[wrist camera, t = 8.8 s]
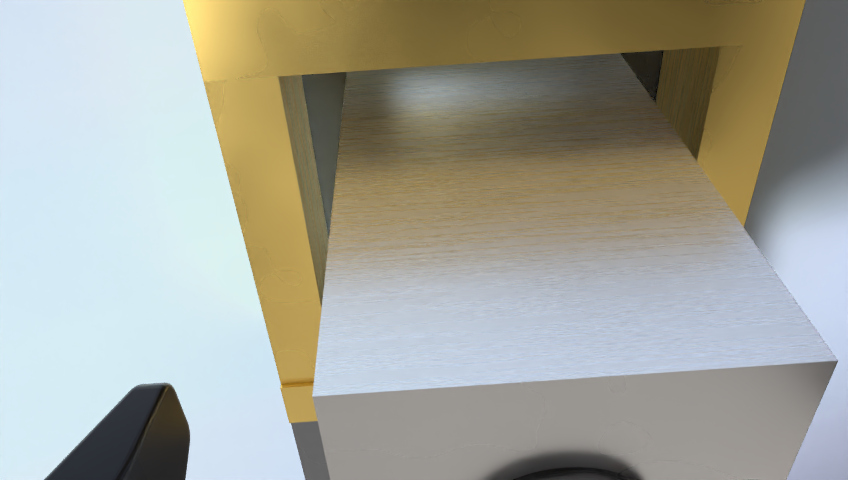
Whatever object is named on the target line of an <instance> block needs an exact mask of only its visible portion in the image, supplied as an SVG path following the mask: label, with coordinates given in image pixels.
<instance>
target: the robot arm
mask: <svg viewBox="0 0 848 480" xmlns="http://www.w3.org/2000/svg"><path fill="white" fill-rule="evenodd" d="M189 446H190V430H189V425H188V422H187V420H186V417H185V414H184V412H183V409H182V407H181V404H180V402H179V399H178V397H177V394H176V392H175V390H174V388H173V386H172V385H170V384H169V383H154V384H141V385H138V386H136V387H134V388H133V389H132V390H130V391H129V392H128V393H127V395H126V396H125V397H124V398H123V399H122V400H121V401H120V402H119V403H118V404H117V405H116V406H115V407H114V408H113V409H112V410H111V411H110V412H109V413H108V414H107V415H106V416H105V417H104V418H103V419H102V420H101V421H100V422H99V423H98V425H97V426H96V427H95V428H94V429H93V430H92V431H91V432H90V433H89V434H88V435H87V436H86V437H85V438H84V439H83V440H82V441H81V442H80V443H79V444H78V445H77V446H76V447H75V448H74V449H73V450H72V451H71V452H70V454H69V455H68V456H67V457H66V458H65V459H64V460H63V461H62V462H61V463H60V464H59V465H58V466H57V467H56V468H55V469H54V470H53V471H52V472H51V473H50V474H49V475H48V476H47V477H46V478H45V479H44V480H185V478H186V470H187V462H188V454H189Z"/></svg>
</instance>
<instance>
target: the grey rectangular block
mask: <svg viewBox="0 0 848 480" xmlns="http://www.w3.org/2000/svg"><path fill="white" fill-rule="evenodd" d="M837 362H838V360H837V358H836V357H835V355H834V354H833V353H832V351H831V350H830V348H829V347H828V345H827V344H826V343H825V341H824V340H823V338H822V337H821V336H820V334H819V333H818V331H817V330H816V329H815V327H814V326H813V324H812V323H811V322H810V320H809V319H808V317H807V316H806V315H805V313H804V312H803V310H802V309H801V307H800V306H799V305H798V303H797V302H796V300H795V299H794V298H793V296H792V295H791V293H790V292H789V291H788V289H787V288H786V286H785V285H784V284H783V282H782V281H781V279H780V278H779V277H778V275H777V274H776V272H775V271H774V269H773V268H772V267H771V265H770V264H769V262H768V261H767V260H766V258H765V257H764V255H763V254H762V253H761V251H760V250H759V248H758V247H757V246H756V244H755V243H754V241H753V240H752V238H751V237H750V236H749V234H748V233H747V231H746V230H745V229H744V227H743V226H742V224H741V223H740V222H739V220H738V219H737V217H736V216H735V215H734V213H733V212H732V210H731V209H730V208H729V206H728V205H727V203H726V202H725V200H724V199H723V198H722V196H721V195H720V193H719V192H718V191H717V189H716V188H715V186H714V185H713V184H712V182H711V181H710V179H709V178H708V177H707V175H706V174H705V172H704V171H703V170H702V168H701V167H700V165H699V164H698V162H697V161H696V160H695V158H694V157H693V155H692V154H691V153H690V151H689V150H688V148H687V147H686V146H685V144H684V143H683V141H682V140H681V139H680V137H679V136H678V134H677V133H676V131H675V130H674V129H673V127H672V126H671V124H670V123H669V122H668V120H667V119H666V117H665V116H664V115H663V113H662V112H661V110H660V109H659V108H658V106H657V105H656V103H655V102H654V101H653V99H652V98H651V96H650V95H649V93H648V92H647V91H646V89H645V88H644V86H643V85H642V84H641V82H640V81H639V79H638V78H637V77H636V75H635V74H634V72H633V71H632V70H631V68H630V67H629V65H628V64H627V63H626V61H625V60H624V58H623V57H622V55H621V54H620V53H615V54H600V55H586V56H571V57H557V58H542V59H527V60H513V61H498V62H483V63H469V64H454V65H439V66H425V67H410V68H395V69H381V70H366V71H351V72H346V82H345V91H344V101H343V110H342V120H341V129H340V139H339V148H338V158H337V167H336V177H335V186H334V196H333V205H332V215H331V224H330V234H329V243H328V253H327V262H326V272H325V281H324V291H323V300H322V310H321V319H320V329H319V338H318V348H317V357H316V367H315V376H314V386H313V395H312V397H313V402H314V407H315V411H316V416H317V420H318V425H319V430H320V434H321V439H322V444H323V448H324V453H325V458H326V462H327V467H328V471H329V476H330V480H786V479H787V476H788V474H789V472H790V470H791V467H792V465H793V463H794V460H795V458H796V456H797V454H798V451H799V449H800V447H801V444H802V442H803V440H804V438H805V435H806V433H807V431H808V428H809V426H810V424H811V422H812V419H813V417H814V415H815V412H816V410H817V408H818V406H819V403H820V401H821V399H822V396H823V394H824V392H825V390H826V387H827V385H828V383H829V380H830V378H831V376H832V374H833V371H834V369H835V367H836V364H837Z"/></svg>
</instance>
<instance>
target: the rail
mask: <svg viewBox="0 0 848 480" xmlns="http://www.w3.org/2000/svg"><path fill="white" fill-rule="evenodd" d="M805 1H806V0H183V3H184V7H185V11H186V15H187V18H188V22H189V26H190V30H191V34H192V38H193V42H194V46H195V50H196V54H197V57H198V61H199V65H200V69H201V73H202V77H203V81H204V85H205V89H206V93H207V97H208V100H209V104H210V108H211V112H212V116H213V120H214V124H215V128H216V132H217V136H218V140H219V143H220V147H221V151H222V155H223V159H224V163H225V167H226V171H227V175H228V179H229V182H230V186H231V190H232V194H233V198H234V202H235V206H236V210H237V214H238V218H239V222H240V225H241V229H242V233H243V237H244V241H245V245H246V249H247V253H248V257H249V261H250V265H251V268H252V272H253V276H254V280H255V284H256V288H257V292H258V296H259V300H260V304H261V308H262V311H263V315H264V319H265V323H266V327H267V331H268V335H269V339H270V343H271V347H272V350H273V354H274V358H275V362H276V366H277V370H278V374H279V378H280V382H281V392H282V396H283V400H284V404H285V408H286V412H287V415H288V419H289V423H291V425H292V429H293V433H294V436H295V440H296V444H297V448H298V452H299V456H300V460H301V464H302V468H303V472H304V475H305V479H306V480H330V476H329V471H328V467H327V462H326V458H325V453H324V448H323V444H322V439H321V434H320V430H319V425H318V420H317V416H316V411H315V407H314V402H313V397H312V395H313V386H314V376H315V367H316V357H317V348H318V338H319V329H320V319H321V310H322V300H323V291H324V281H325V272H326V262H327V253H328V243H329V238H328V232H327V226H326V220H325V214H324V208H323V202H322V196H321V190H320V184H319V178H318V172H317V166H316V160H315V154H314V148H313V142H312V136H311V130H310V124H309V117H308V111H307V105H306V99H305V93H304V87H303V81H302V75H307V74H322V73H337V72H351V71H366V70H381V69H395V68H410V67H425V66H439V65H454V64H469V63H483V62H498V61H513V60H527V59H542V58H557V57H571V56H586V55H600V54H615V53H630V52H644V51H659V50H664V52H663V58H662V65H661V71H660V77H659V84H658V90H657V96H656V105H657V106H658V108H659V109H660V110H661V112H662V113H663V115H664V116H665V117H666V119H667V120H668V122H669V123H670V124H671V126H672V127H673V129H674V130H675V131H676V133H677V134H678V136H679V137H680V139H681V140H682V141H683V143H684V144H685V146H686V147H687V148H688V150H689V151H690V153H691V154H692V155H693V157H694V158H695V160H696V161H697V162H698V164H699V165H700V167H701V168H702V170H703V171H704V172H705V174H706V175H707V177H708V178H709V179H710V181H711V182H712V184H713V185H714V186H715V188H716V189H717V191H718V192H719V193H720V195H721V196H722V198H723V199H724V200H725V202H726V203H727V205H728V206H729V208H730V209H731V210H732V212H733V213H734V215H735V216H736V217H737V219H738V220H739V222H740V223H741V224H742V226H743V227H744V225H745V221H746V217H747V214H748V210H749V206H750V203H751V199H752V195H753V192H754V188H755V184H756V181H757V177H758V173H759V170H760V166H761V162H762V159H763V155H764V151H765V148H766V144H767V140H768V137H769V133H770V129H771V126H772V122H773V118H774V115H775V111H776V107H777V104H778V100H779V96H780V93H781V89H782V85H783V82H784V78H785V74H786V71H787V67H788V63H789V60H790V56H791V52H792V49H793V45H794V41H795V38H796V34H797V30H798V27H799V23H800V19H801V16H802V12H803V8H804V5H805Z"/></svg>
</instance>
